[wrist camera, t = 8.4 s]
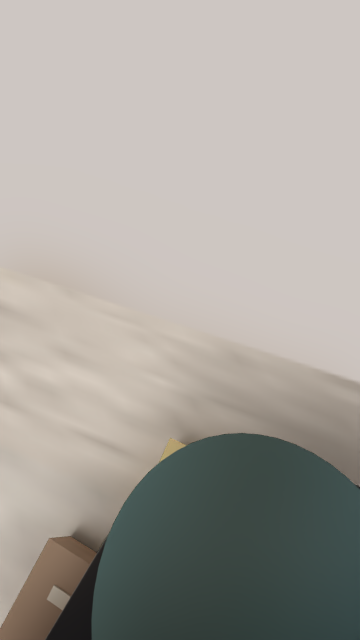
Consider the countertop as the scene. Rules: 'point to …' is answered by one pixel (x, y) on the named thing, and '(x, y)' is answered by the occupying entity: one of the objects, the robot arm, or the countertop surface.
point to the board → (47, 589)
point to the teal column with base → (233, 547)
